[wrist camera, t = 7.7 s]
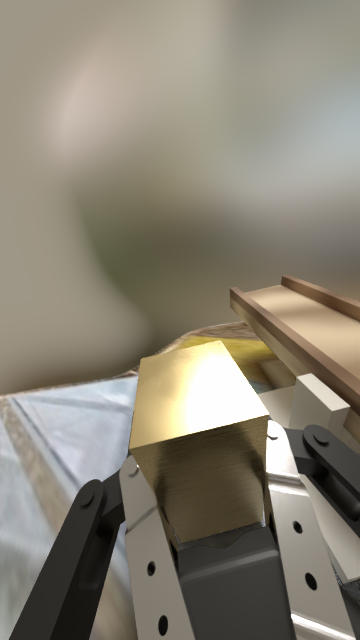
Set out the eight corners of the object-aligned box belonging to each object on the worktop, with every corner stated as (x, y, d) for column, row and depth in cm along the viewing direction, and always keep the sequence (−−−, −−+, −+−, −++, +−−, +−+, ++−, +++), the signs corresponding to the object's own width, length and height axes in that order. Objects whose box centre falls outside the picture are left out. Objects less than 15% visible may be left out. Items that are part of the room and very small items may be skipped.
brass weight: (262, 521, 10) (269, 413, 6) (181, 543, 10) (128, 449, 6) (229, 435, 15) (220, 340, 10) (173, 450, 14) (141, 358, 10)
